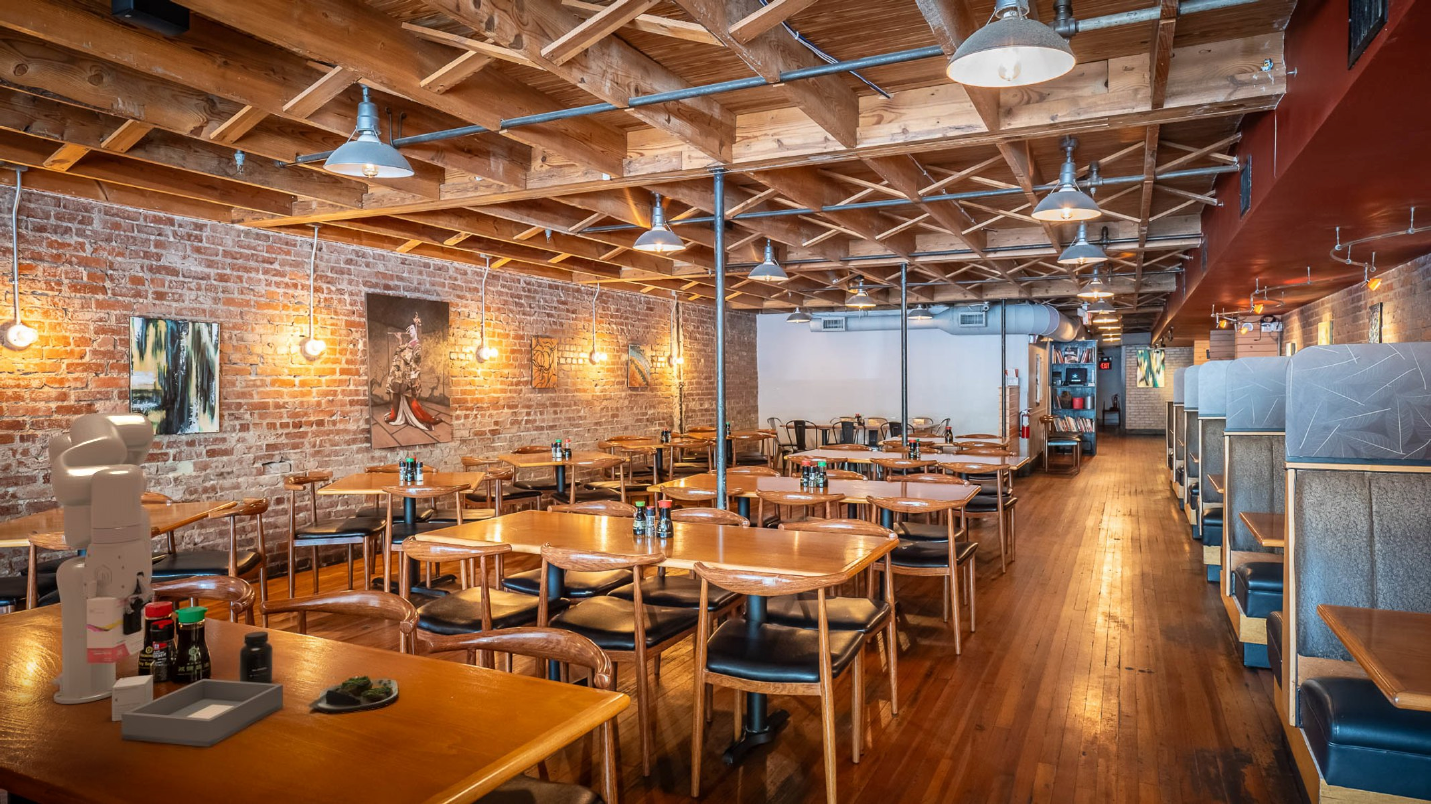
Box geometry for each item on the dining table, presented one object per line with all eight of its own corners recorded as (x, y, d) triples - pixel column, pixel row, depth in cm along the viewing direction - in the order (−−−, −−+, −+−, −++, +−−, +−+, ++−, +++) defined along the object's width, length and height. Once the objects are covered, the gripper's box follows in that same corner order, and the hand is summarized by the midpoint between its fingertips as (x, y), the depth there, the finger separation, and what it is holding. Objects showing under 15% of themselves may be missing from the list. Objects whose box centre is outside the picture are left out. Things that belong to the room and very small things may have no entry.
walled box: (121, 739, 160) (121, 714, 160) (203, 701, 179) (203, 678, 179) (209, 747, 156) (209, 721, 156) (283, 707, 176) (282, 684, 176)
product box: (111, 722, 168) (110, 687, 168) (120, 711, 174) (119, 677, 174) (146, 717, 170) (145, 683, 170) (153, 707, 176) (153, 674, 176)
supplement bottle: (257, 691, 185) (257, 639, 185) (232, 689, 187) (231, 637, 187) (279, 680, 192) (279, 630, 192) (254, 679, 193) (254, 629, 193)
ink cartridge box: (114, 664, 146) (113, 582, 145) (86, 664, 145) (85, 582, 145) (145, 648, 154) (145, 572, 154) (119, 649, 154) (118, 572, 154)
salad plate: (317, 688, 188) (317, 669, 188) (400, 679, 194) (399, 660, 194) (306, 720, 170) (306, 698, 170) (397, 708, 176) (397, 687, 176)
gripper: (58, 537, 148) (59, 635, 148) (138, 540, 144) (138, 641, 145) (97, 530, 155) (98, 623, 155) (173, 533, 152) (174, 629, 152)
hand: (117, 631), depth 150 cm, fingers closed on ink cartridge box, 5 cm apart
